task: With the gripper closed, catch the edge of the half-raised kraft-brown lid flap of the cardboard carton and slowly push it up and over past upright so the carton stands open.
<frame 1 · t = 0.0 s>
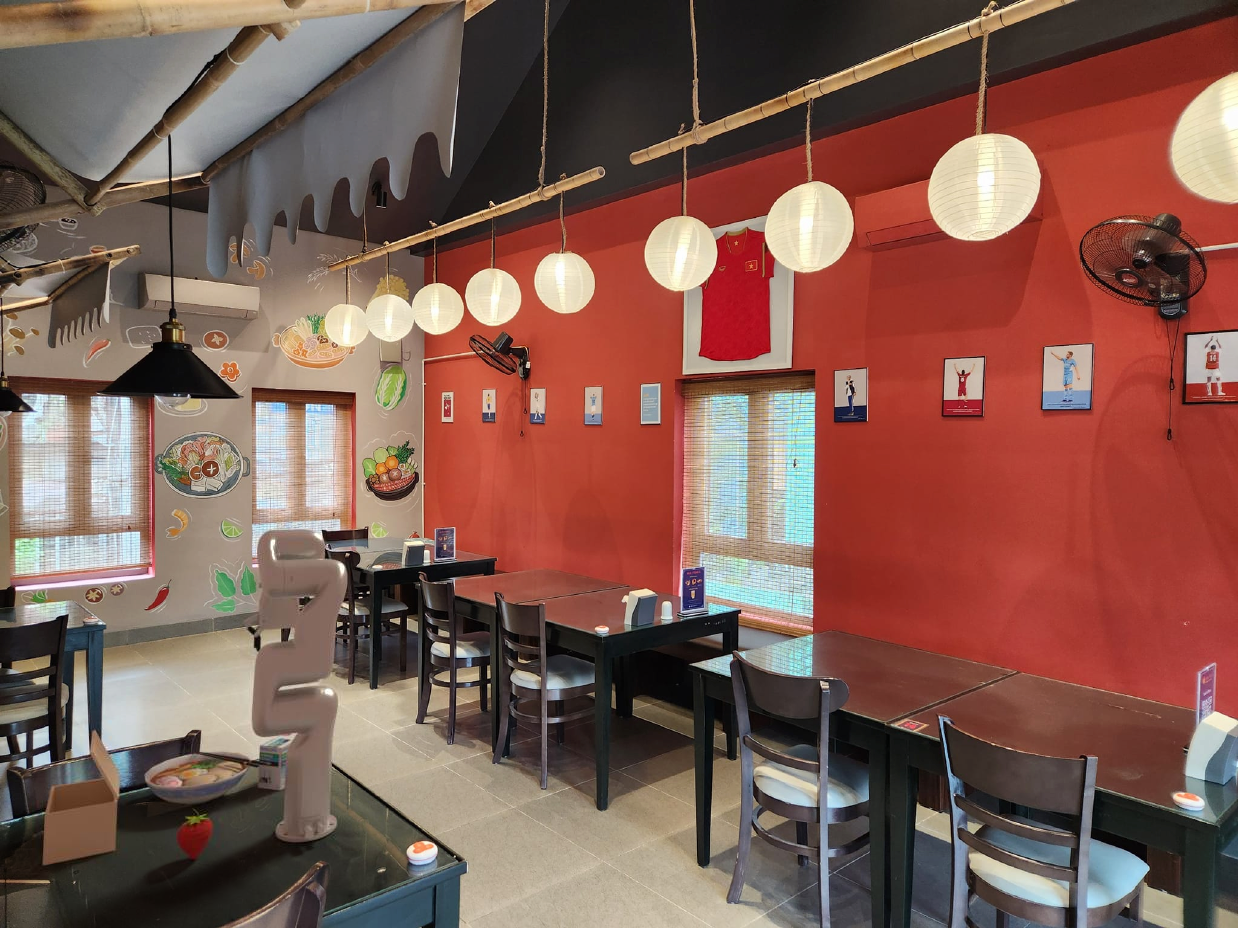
hand: (277, 648, 205), 31 cm above the table, tool pointing down, fingers open, 9 cm apart
cardboard carton: (81, 841, 159), on the table
light bulb box: (282, 782, 193), on the table
strawberry: (194, 859, 153), on the table
carton flap: (105, 763, 161), point 16 cm above the table, hinge at 65.0°
ramen bowl: (198, 799, 181), on the table
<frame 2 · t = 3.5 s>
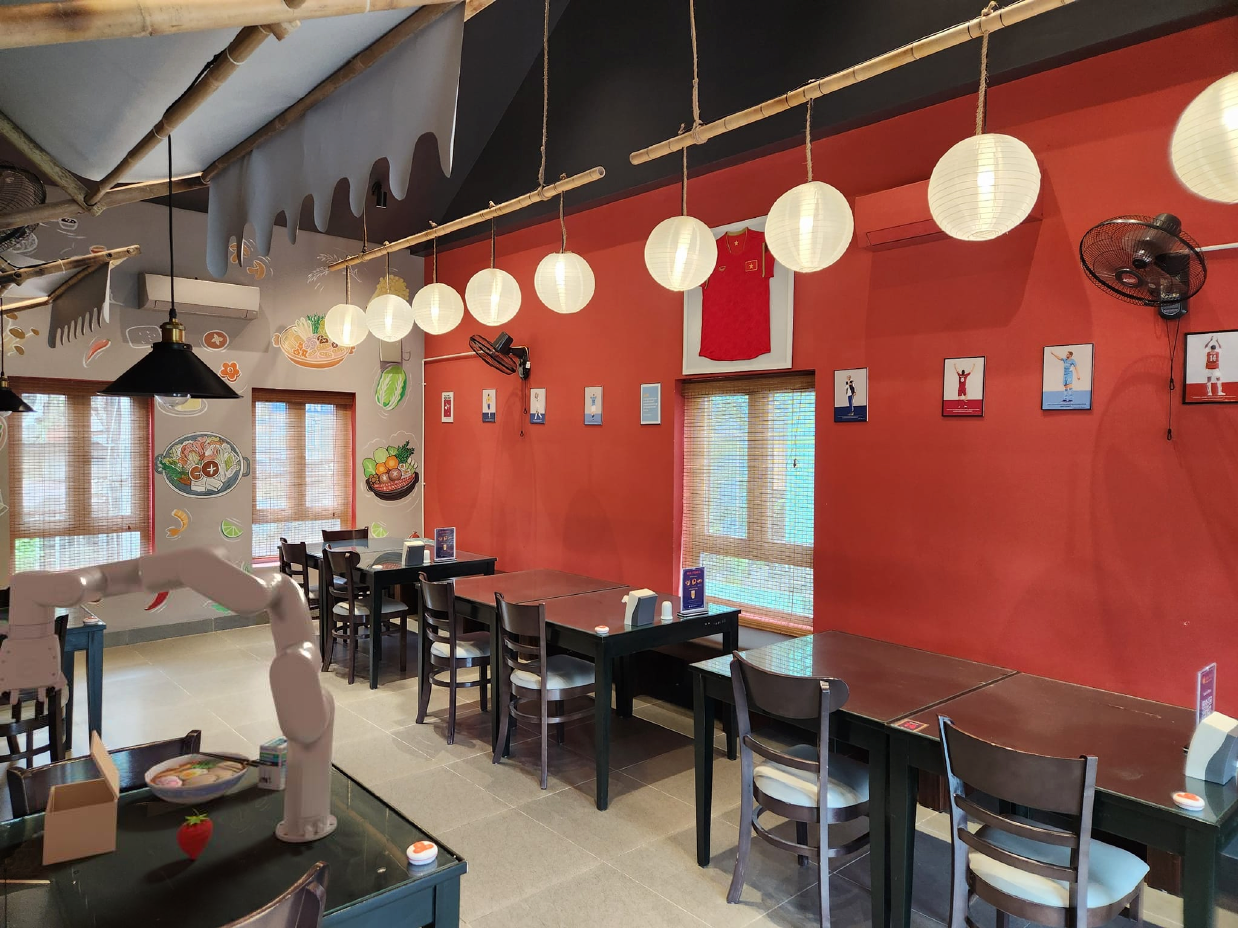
hand: (27, 719, 154), 27 cm above the table, tool pointing down, fingers closed
nothing on the table moved.
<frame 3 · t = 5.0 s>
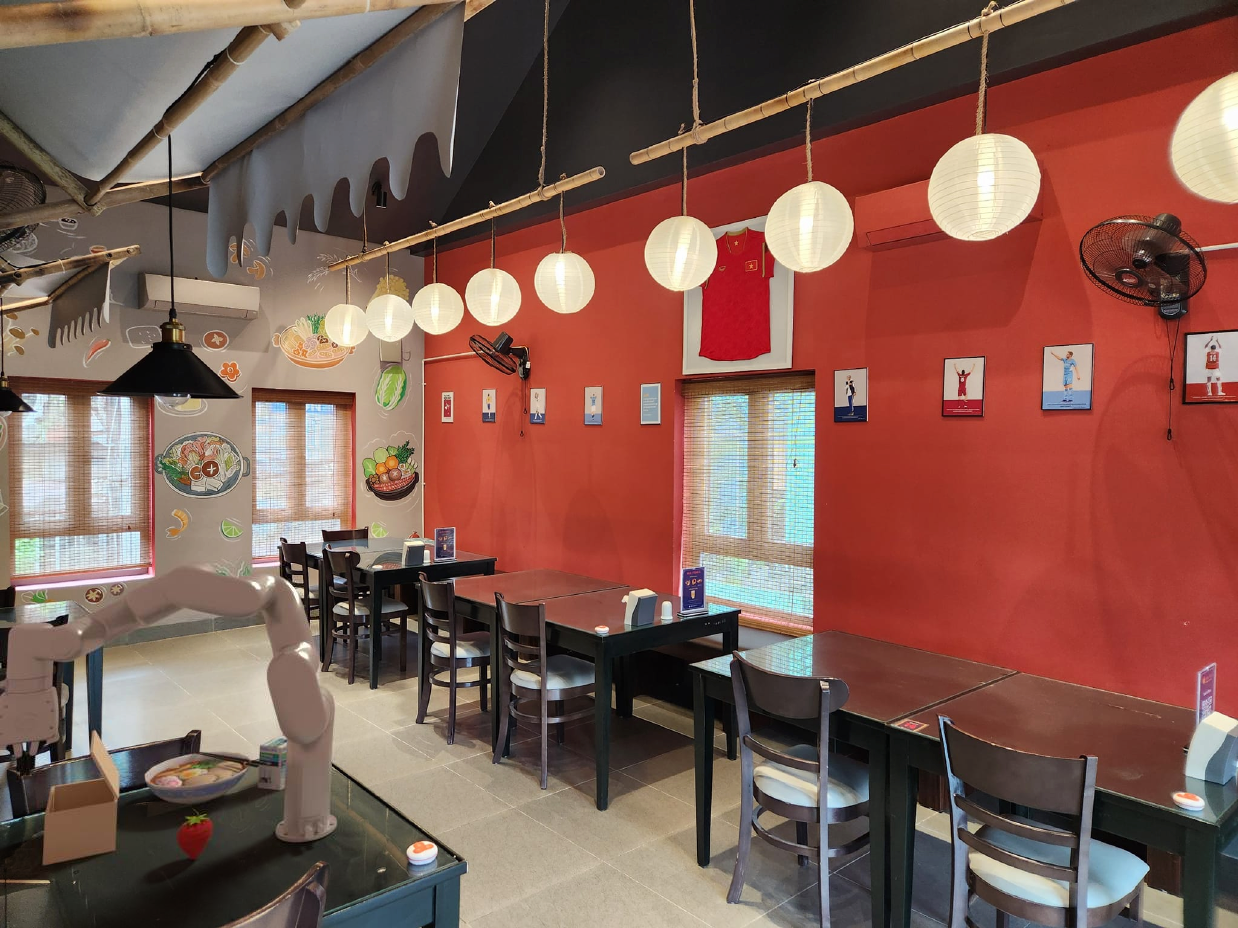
hand: (25, 773, 154), 16 cm above the table, tool pointing down, fingers closed
nothing on the table moved.
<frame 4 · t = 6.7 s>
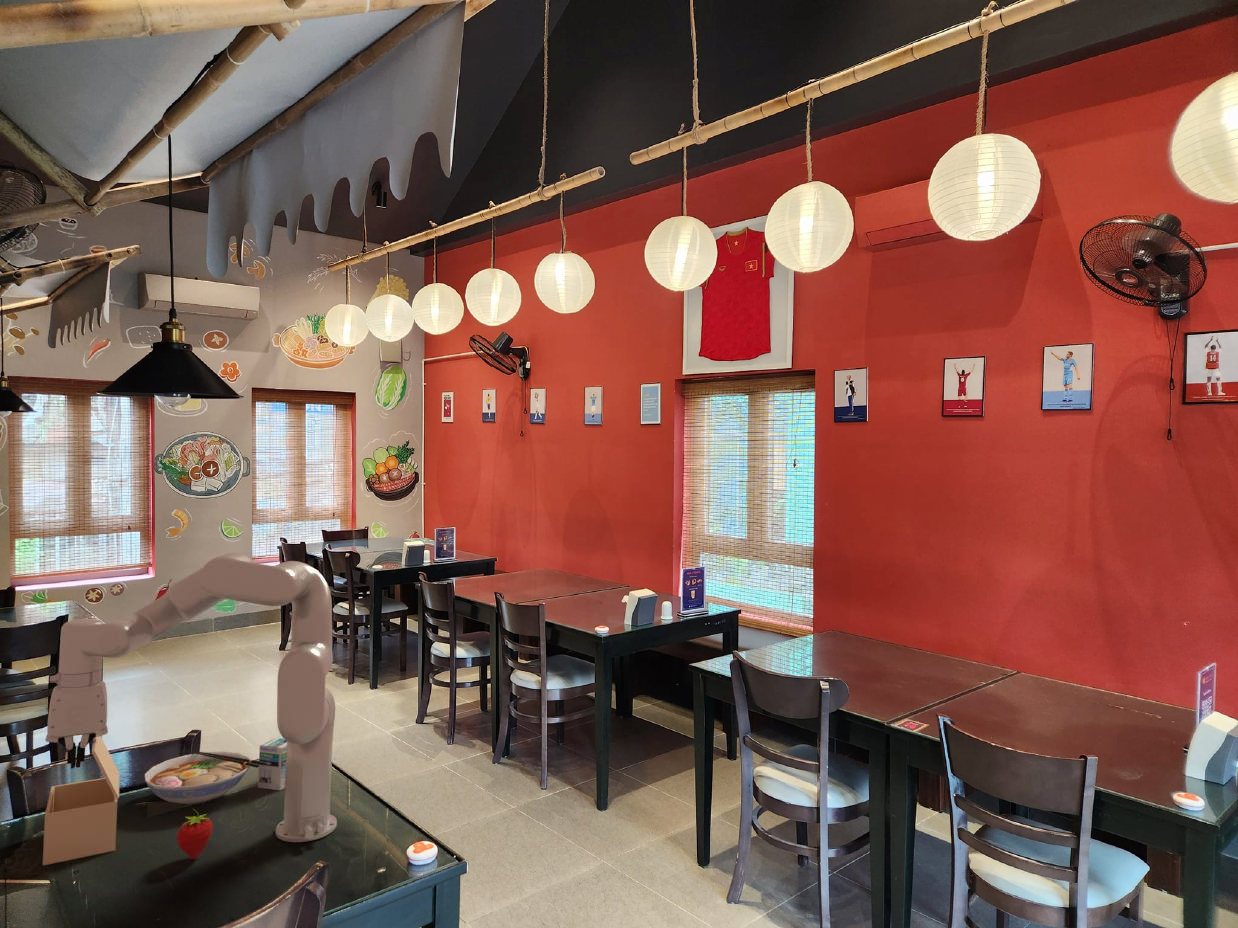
hand: (75, 765, 159), 16 cm above the table, tool pointing down, fingers closed
carton flap: (106, 762, 161), point 16 cm above the table, hinge at 66.8°, touching gripper
everything else where it was.
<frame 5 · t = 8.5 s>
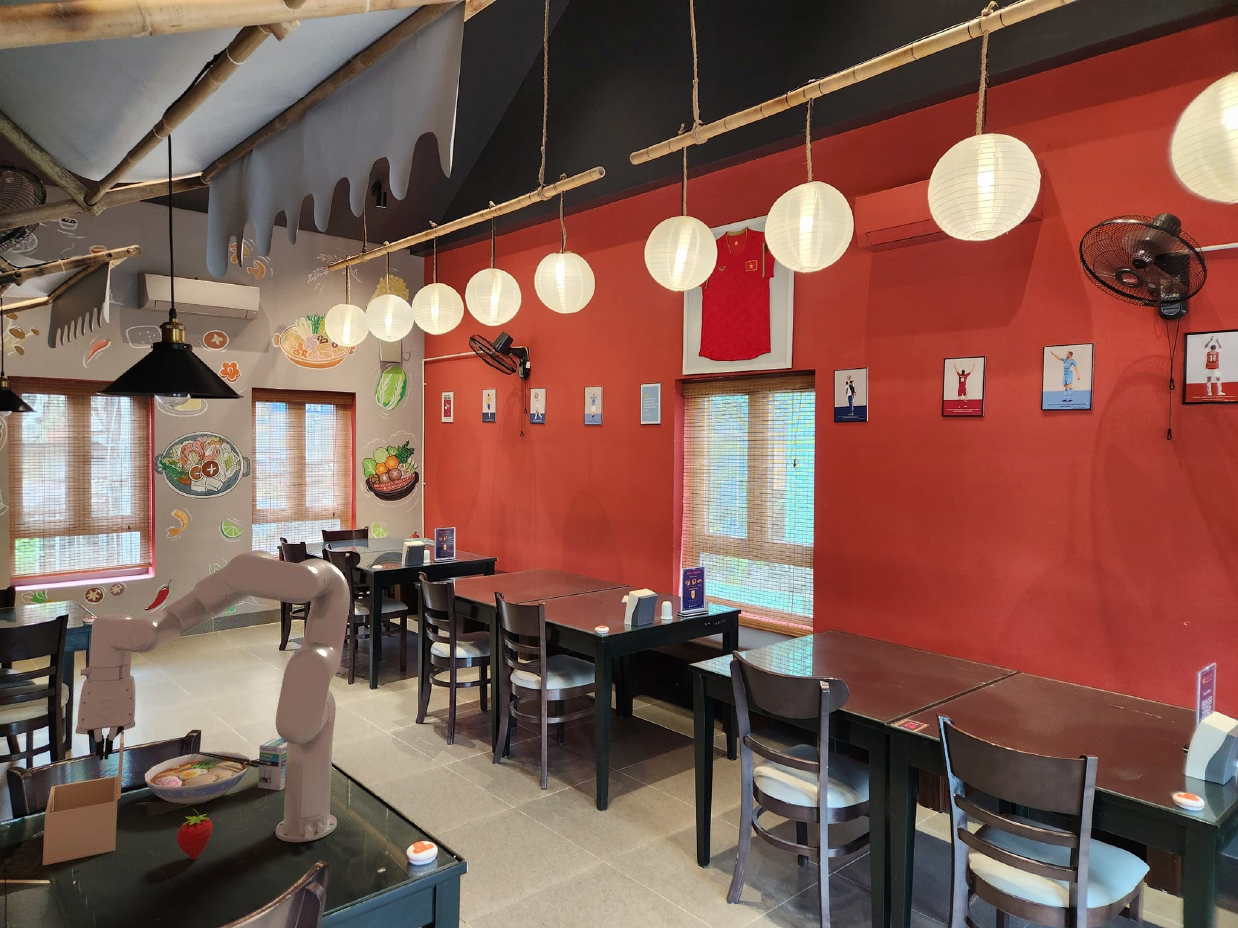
hand: (103, 757, 161), 17 cm above the table, tool pointing down, fingers closed
carton flap: (120, 758, 163), point 16 cm above the table, hinge at 91.2°, touching gripper
everything else where it was.
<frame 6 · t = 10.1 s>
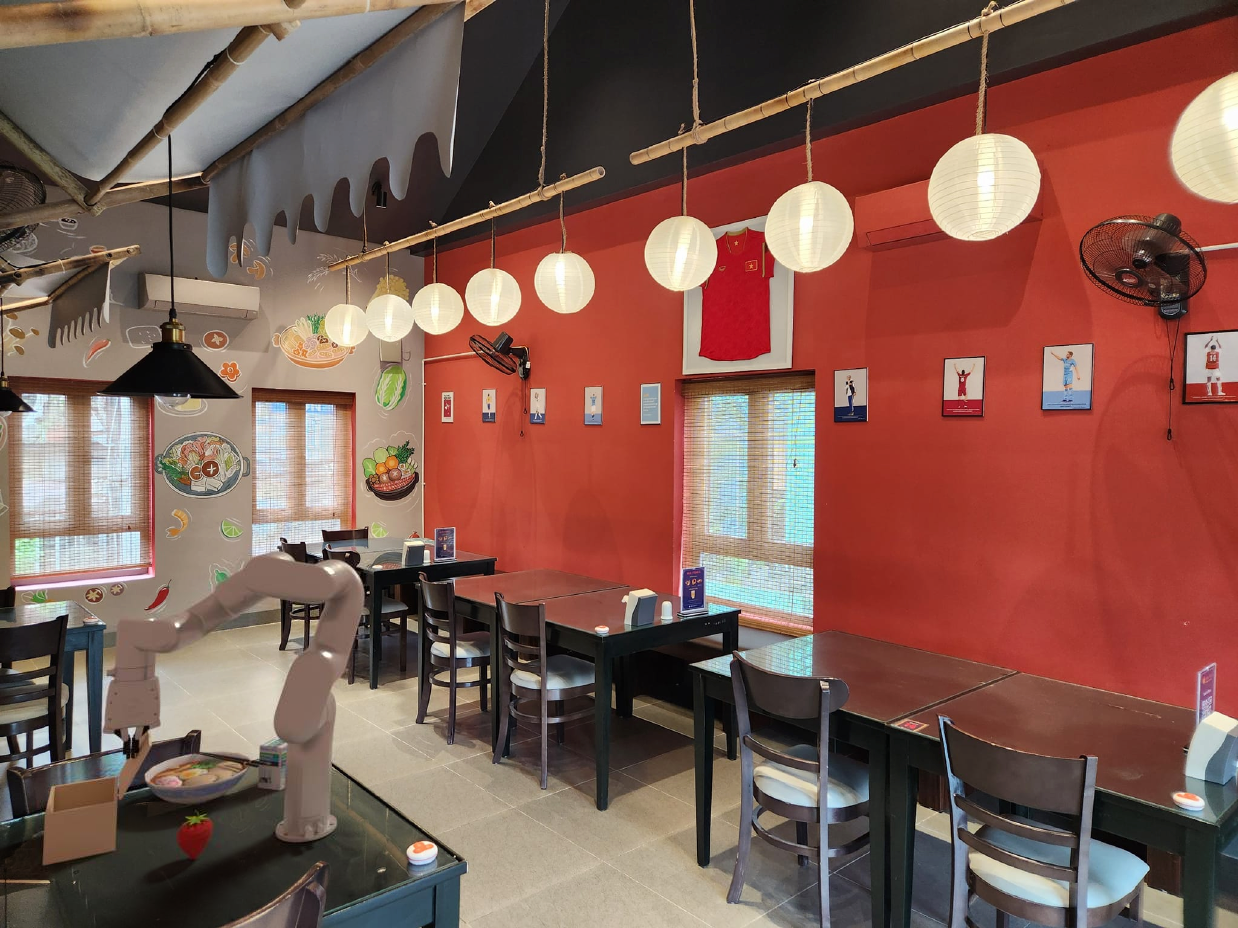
hand: (130, 756, 164), 16 cm above the table, tool pointing down, fingers closed
carton flap: (134, 760, 164), point 16 cm above the table, hinge at 116.1°, touching gripper
everything else where it was.
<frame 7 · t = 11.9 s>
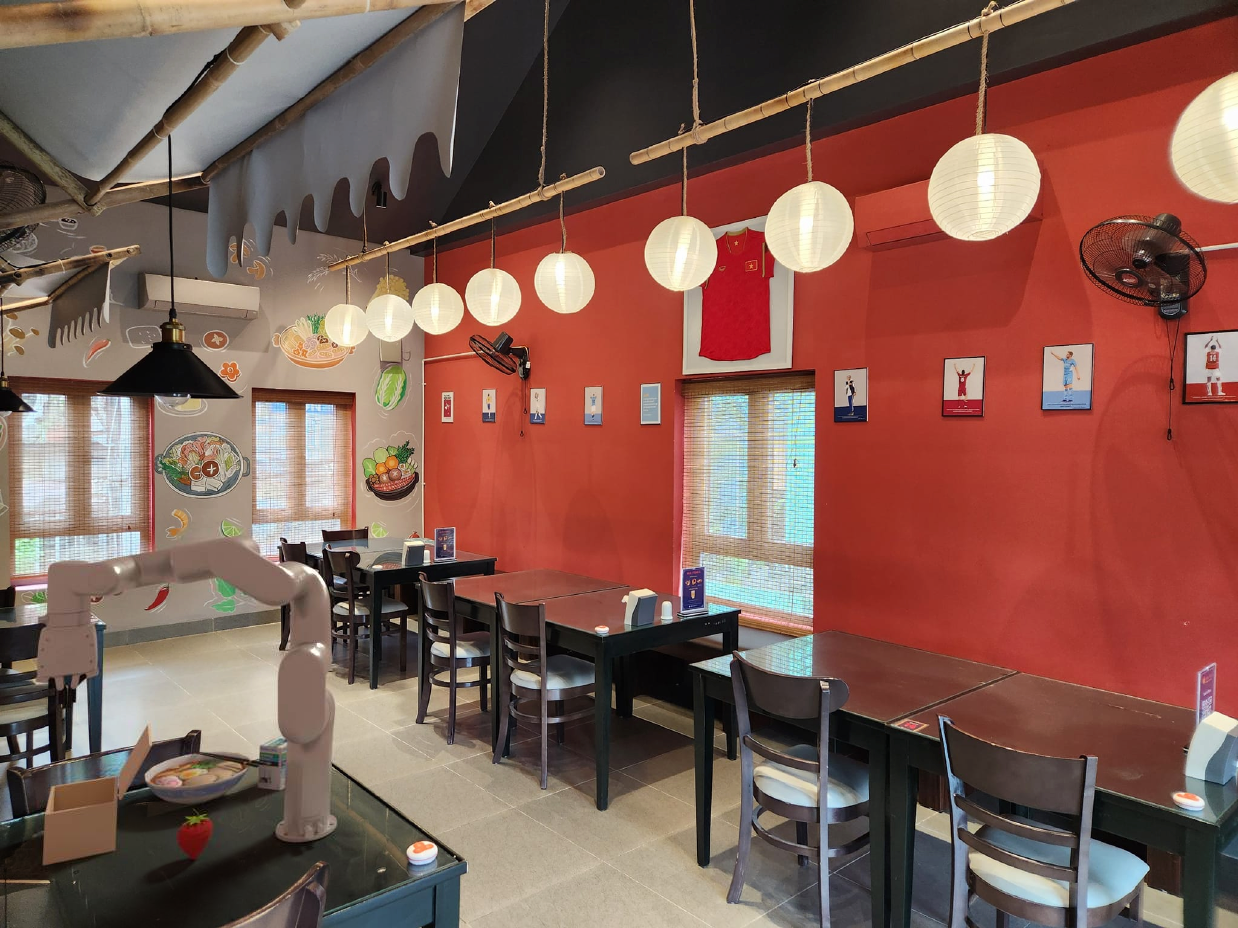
hand: (67, 706, 158), 29 cm above the table, tool pointing down, fingers closed
carton flap: (135, 760, 164), point 15 cm above the table, hinge at 116.3°
everything else where it was.
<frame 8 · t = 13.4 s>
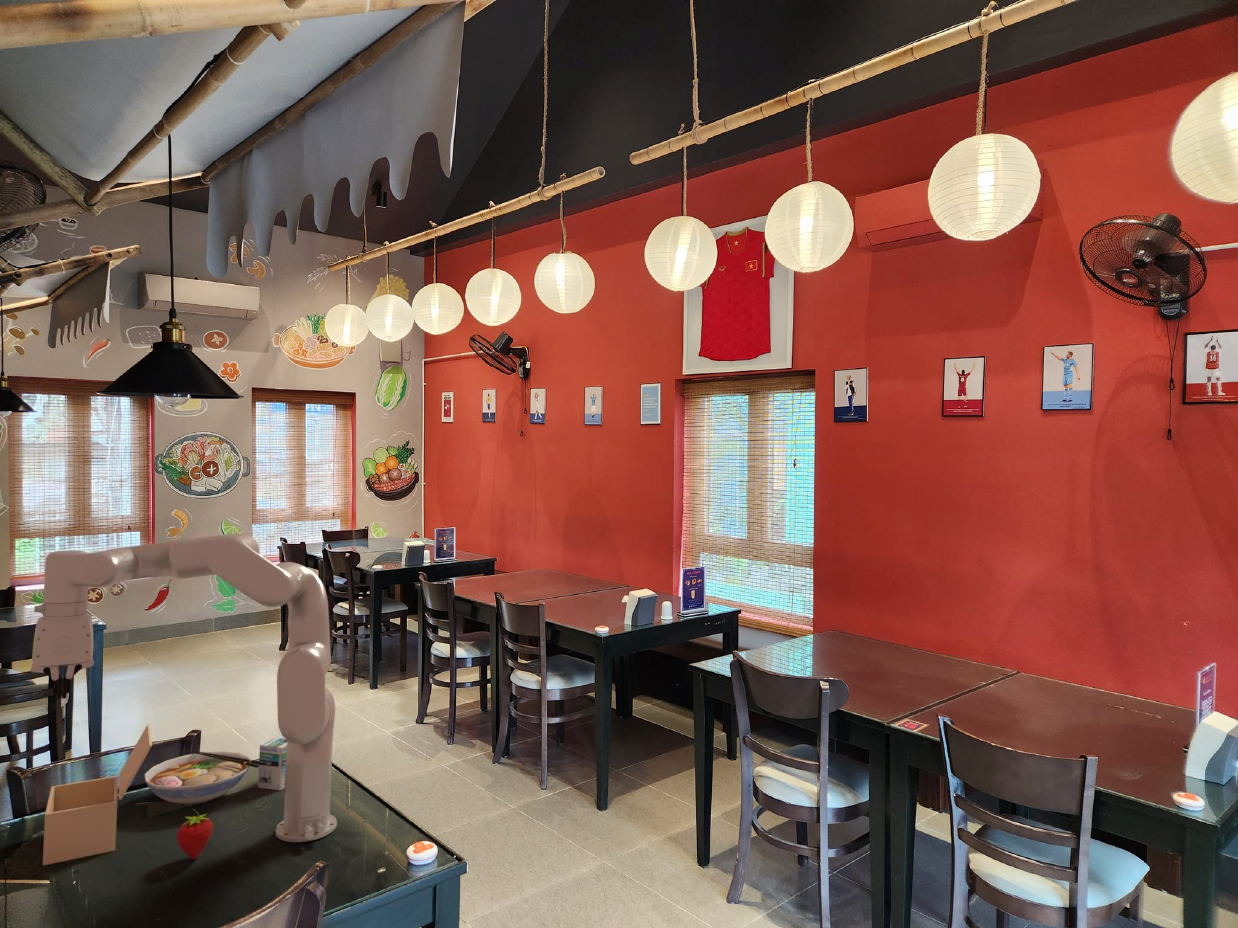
hand: (61, 697, 157), 31 cm above the table, tool pointing down, fingers closed
nothing on the table moved.
at the end: carton flap at +116° (first picture: +65°); ramen bowl moved 0.3 cm from its start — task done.
